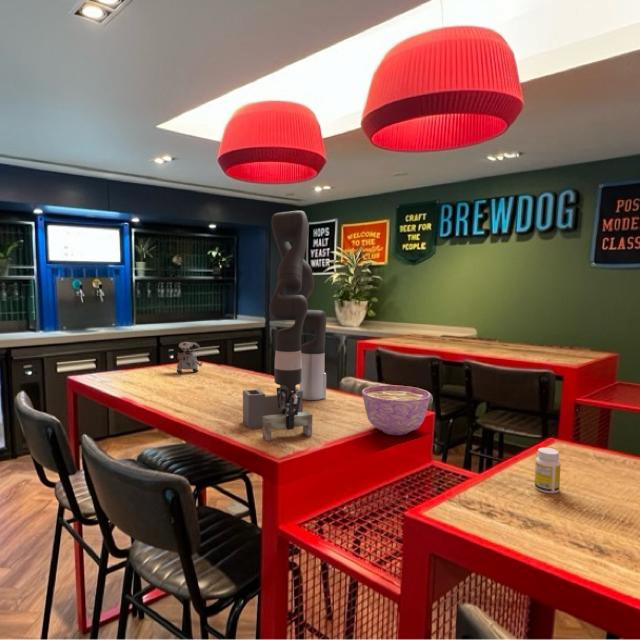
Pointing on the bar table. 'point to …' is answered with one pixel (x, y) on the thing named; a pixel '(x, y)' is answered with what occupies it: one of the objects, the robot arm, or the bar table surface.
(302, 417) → the rail
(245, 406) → the grey hollow block
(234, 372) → the bar table surface
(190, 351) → the figurine
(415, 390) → the bowl of food
